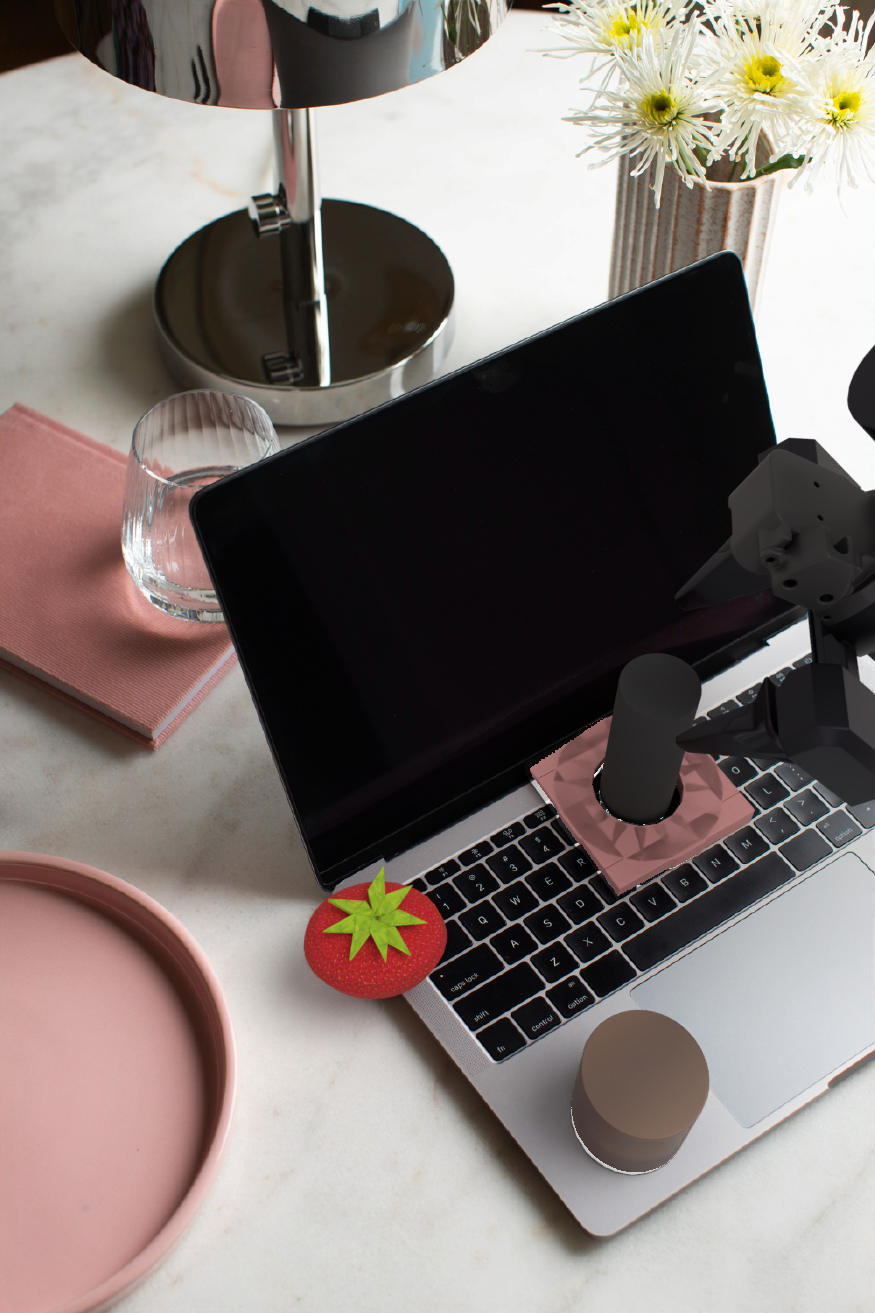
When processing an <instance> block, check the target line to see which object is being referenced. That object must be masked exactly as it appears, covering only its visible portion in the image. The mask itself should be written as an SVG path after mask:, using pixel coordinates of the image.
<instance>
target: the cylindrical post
mask: <svg viewBox="0 0 875 1313" xmlns="http://www.w3.org/2000/svg"><path fill="white" fill-rule="evenodd" d="M702 687H703V686H702V682H701V679H700V677H699V675H698V674H697V672H696V671H695V669H694V668H693V667H692V666H691V665H690V664H689V663H687V661H684V660H683V659H681V658H678V657H677V656H674V655H671V654H667V653H662V652H660V653H659V652H654V653H653V652H652V653H645V654H642V655H639V656H637V657H634V658H633V659H632V660H630V661H629V662H628V663H627V664H625V666H624V667H623V669H622V670H621V672H620V674H619V678H618V683H617V689H616V693H615V700H614V706H613V711H612V715H611V716H612V721H611V726H610V732H609V737H608V743H607V748H606V753H605V759H604V764H603V769H602V770H601V776H600V780H599V786H600V789H599V788H598V791H599V790H600V795H601V799H602V802H603V803H604V805H605V807H606V808H607V809H608V811H609V812H610V813H611V815H613V816H614V817H615V818H617V819H621V820H623V821H625V822H629V823H634V824H639V825H643V824H649V823H652V822H653V823H654V822H656V821H657V820H659V819H660V818H662V817H663V816H664V815H665V814H666V812H667V811H668V812H669V809H670V807H671V806H670V805H671V803H672V799H673V795H674V792H675V789H676V782H677V778H678V775H679V771H680V768H681V765H682V761H683V758H684V754H685V751H684V750H683V749H681V748H680V747H678V746H677V745H676V737H677V736H678V735H680V734H681V733H683V732H685V731H687V730H688V729H690V728H692V727H694V724H695V719H696V716H697V713H698V709H699V705H700V702H701V698H702V693H703V688H702ZM668 808H669V809H668ZM668 812H667V813H668ZM666 815H667V814H666ZM666 815H665V816H666Z"/></svg>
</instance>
